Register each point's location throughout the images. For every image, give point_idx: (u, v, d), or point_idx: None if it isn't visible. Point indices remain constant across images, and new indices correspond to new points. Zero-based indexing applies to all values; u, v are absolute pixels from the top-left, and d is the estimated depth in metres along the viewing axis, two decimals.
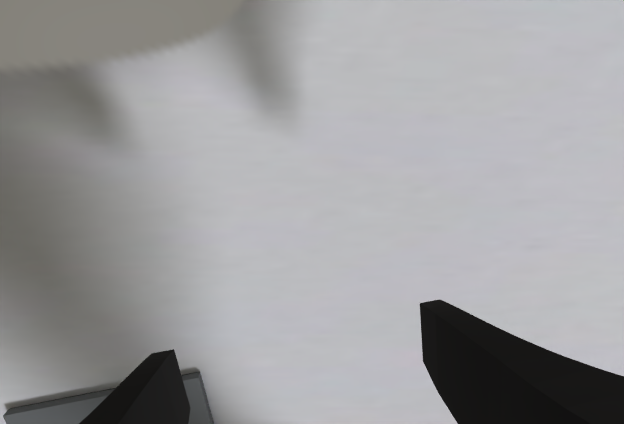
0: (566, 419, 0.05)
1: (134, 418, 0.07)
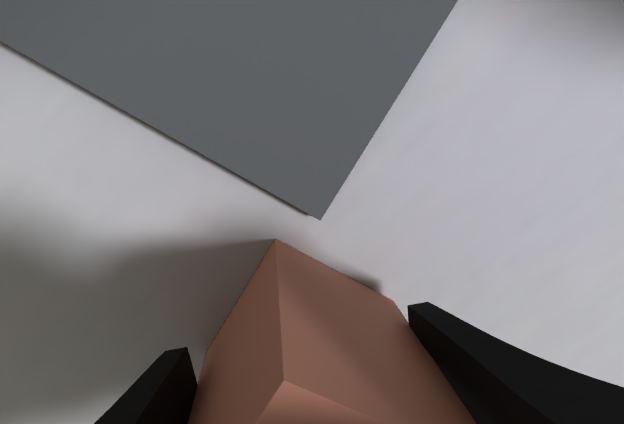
0: None
1: (152, 414, 0.07)
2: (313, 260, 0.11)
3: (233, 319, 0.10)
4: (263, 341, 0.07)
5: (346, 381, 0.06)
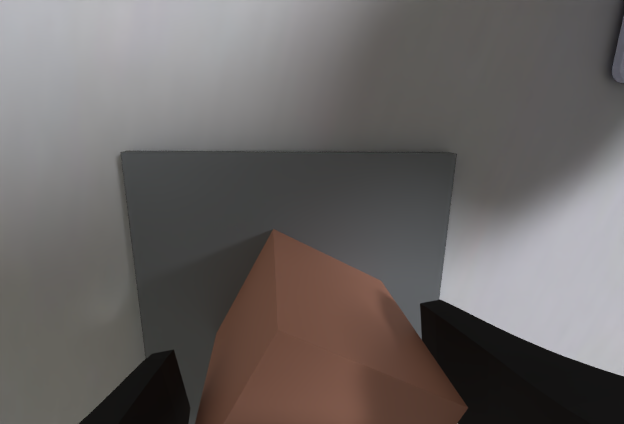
0: (566, 419, 0.05)
1: (134, 418, 0.07)
2: (307, 246, 0.12)
3: (239, 300, 0.12)
4: (263, 309, 0.08)
5: (330, 334, 0.07)
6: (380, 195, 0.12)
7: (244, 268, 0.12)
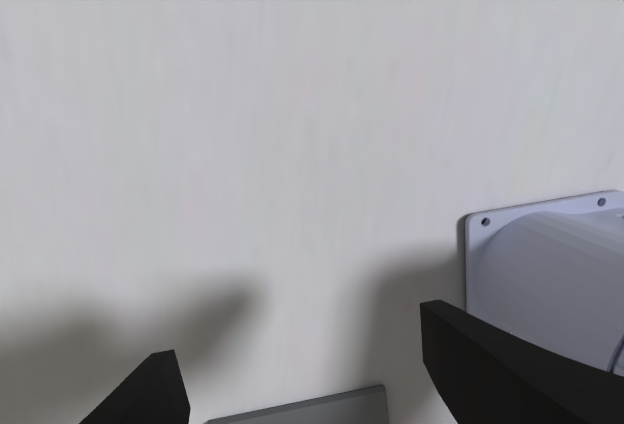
0: (566, 420, 0.05)
1: (134, 418, 0.07)
2: None
3: None
4: None
5: None
6: (346, 417, 0.22)
7: None
